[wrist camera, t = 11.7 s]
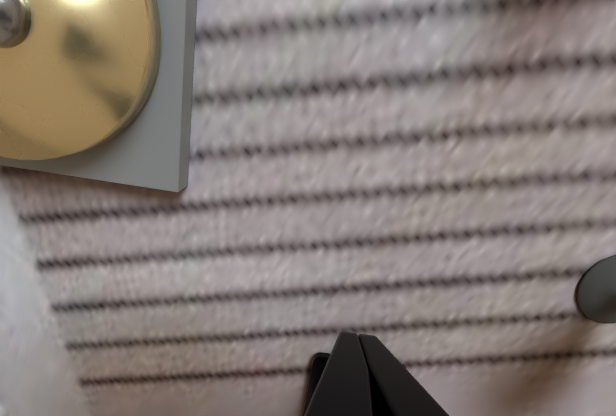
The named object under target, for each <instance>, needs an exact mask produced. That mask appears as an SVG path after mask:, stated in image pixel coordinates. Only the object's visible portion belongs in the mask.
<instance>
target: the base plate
mask: <svg viewBox="0 0 616 416" xmlns="http://www.w3.org/2000/svg"><path fill="white" fill-rule="evenodd" d="M157 3H158V7H159V15H160V24H161V51H160V58H159V65H158V70H157V73H156V77H155V81H154V84H153V87H152V89H151V91H150V94H149V96H148V98H147V100H146V102H145V104H144V105H143V107H142V109H141V110H140V112H139V113H138V115H137V116H136V117H135V118H134V119H133V121H132V122H131V123H130V124H129V125H128V126H127V127H126V128H125V129H124V130H123V131H121V132H120V133H119V134H118V135H117V136H115V137H114V138H112V139H111V140H109V141H107V142H106V143H104V144H102V145H100V146H97V147H95V148H93V149H91V150H87V151H83V152H80V153H76V154H71V155H67V156H62V157H58V158H51V159H43V160H20V159H13V158H6V157H1V156H0V165H2V166H9V167H16V168H22V169H29V170H35V171H42V172H48V173H55V174H62V175H68V176H75V177H81V178H88V179H94V180H101V181H108V182H114V183H121V184H127V185H134V186H140V187H147V188H153V189H160V190H167V191H173V192H179V191H181V190H182V189H184V188H185V187H187V186H188V168H189V148H190V129H191V109H192V89H193V70H194V50H195V30H196V11H197V0H157Z"/></svg>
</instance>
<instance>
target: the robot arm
mask: <svg viewBox="0 0 616 416" xmlns="http://www.w3.org/2000/svg"><path fill="white" fill-rule="evenodd" d="M318 360H323V361H318ZM302 416H449V415H448V414H447V413H446V412H445V411H444V410H443V408H442V407H441V406H440V405H439V404H438V403H437V402H436V401H435V400H434V399H433V398H432V397H431V395H430V394H429V393H428V392H427V391H426V390H425V389H424V388H423V387H422V386H421V385H420V384H419V382H418V381H417V380H416V379H415V378H414V377H413V376H412V375H411V374H410V373H409V372H408V371H407V370H406V367H405V366H404V365H403V364H401V363H400V362H399V361H398V360H397V359H396V358H395V357H394V355H393V354H392V353H391V352H390V351H389V350H388V349H387V348H386V347H385V346H384V345H383V344H382V342H381V341H380V340H379V339H378V338H377V337H376V336H372V335H365V334H359V335H357V334H356V333H351V332H345V331H341V332H340V333H339V336H338V338H337V340H336V343H335V345H334V347H333V350H332V352H331V354H328V353H316V354H315V355H314V357H313V361H312V366H311V371H310V376H309V382H308V387H307V392H306V397H305V403H304V408H303V413H302Z"/></svg>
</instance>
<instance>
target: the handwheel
mask: <svg viewBox="0 0 616 416" xmlns="http://www.w3.org/2000/svg"><path fill="white" fill-rule="evenodd" d="M160 51H161V24H160V15H159V7H158V3H157V0H0V156H1V157H6V158H13V159H20V160H43V159H51V158H58V157H62V156H67V155H71V154H76V153H80V152H83V151H87V150H91V149H93V148H95V147H97V146H100V145H102V144H104V143H106V142H107V141H109V140H111V139H112V138H114V137H115V136H117V135H118V134H119V133H120V132H121V131H123V130H124V129H125V128H126V127H127V126H128V125H129V124H130V123H131V122H132V121H133V119H134V118H135V117H136V116H137V115H138V113H139V112H140V110H141V109H142V107H143V105H144V104H145V102H146V100H147V98H148V96H149V94H150V91H151V89H152V87H153V84H154V81H155V77H156V73H157V70H158V65H159V58H160Z"/></svg>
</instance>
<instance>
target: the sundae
mask: <svg viewBox="0 0 616 416" xmlns="http://www.w3.org/2000/svg"><path fill="white" fill-rule="evenodd" d="M577 302H578V305H579V308H580V310H581V311H582V312H583V313H584V314H585V315H586V316H587V317H588V318H590V319H592V320H595V321H598V322H602V323H616V255H615V256H612V257H609V258H607V259H604V260H602V261H600V262H598V263H597V264H596V265H594V266H593V267H592V268H591V269H590V270H589V271H588V272H587V273H586V274H585V275H584V277H583V278H582V280H581V282H580V284H579V287H578V292H577Z"/></svg>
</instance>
